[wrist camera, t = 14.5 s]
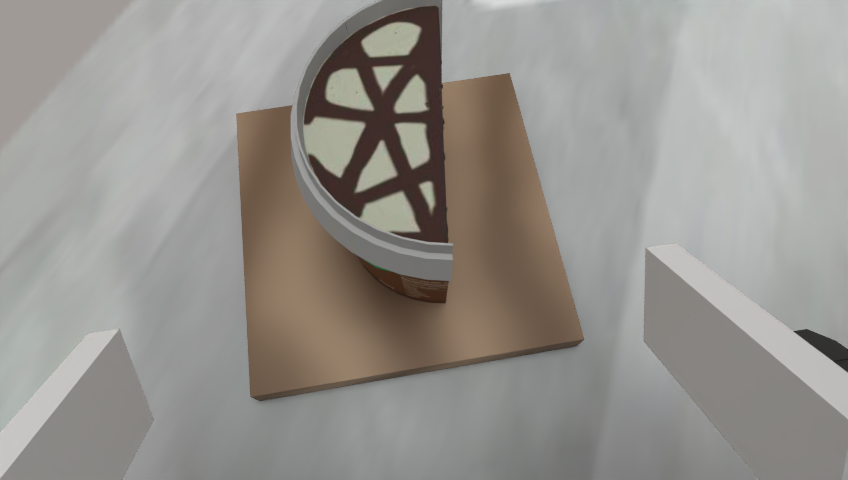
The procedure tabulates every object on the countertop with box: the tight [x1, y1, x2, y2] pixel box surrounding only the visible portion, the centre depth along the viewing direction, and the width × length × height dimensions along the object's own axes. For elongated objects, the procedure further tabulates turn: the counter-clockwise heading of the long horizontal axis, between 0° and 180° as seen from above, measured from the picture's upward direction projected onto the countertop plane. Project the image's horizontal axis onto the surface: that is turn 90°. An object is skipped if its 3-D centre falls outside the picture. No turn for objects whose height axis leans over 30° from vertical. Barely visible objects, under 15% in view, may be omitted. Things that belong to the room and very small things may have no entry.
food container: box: [291, 0, 453, 303], centre depth 25 cm, size 12×6×10 cm, turn 1°
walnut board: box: [236, 73, 584, 401], centre depth 31 cm, size 16×16×2 cm
